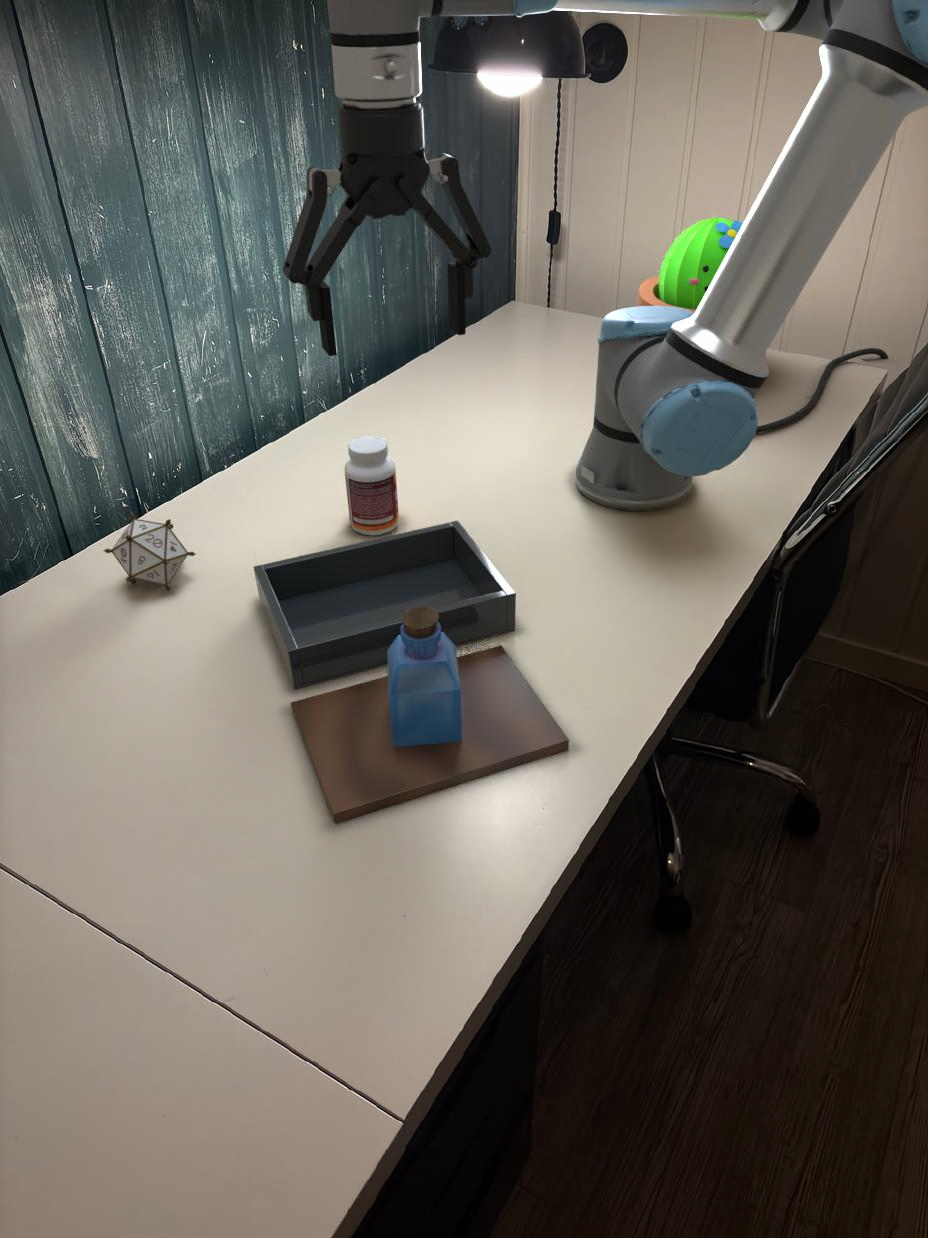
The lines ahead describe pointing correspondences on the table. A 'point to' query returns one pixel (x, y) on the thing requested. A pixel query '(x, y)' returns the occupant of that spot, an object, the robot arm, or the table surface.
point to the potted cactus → (690, 265)
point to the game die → (149, 552)
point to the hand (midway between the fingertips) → (394, 341)
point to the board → (385, 775)
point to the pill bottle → (371, 486)
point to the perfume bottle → (423, 682)
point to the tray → (379, 599)
